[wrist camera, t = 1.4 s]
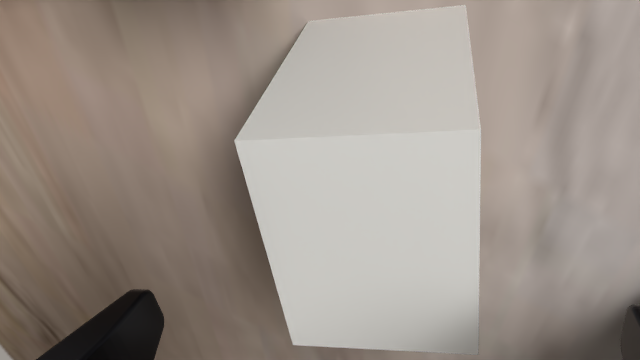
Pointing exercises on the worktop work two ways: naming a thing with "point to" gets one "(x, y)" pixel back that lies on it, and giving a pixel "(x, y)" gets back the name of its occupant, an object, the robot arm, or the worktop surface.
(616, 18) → the worktop surface
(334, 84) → the block
